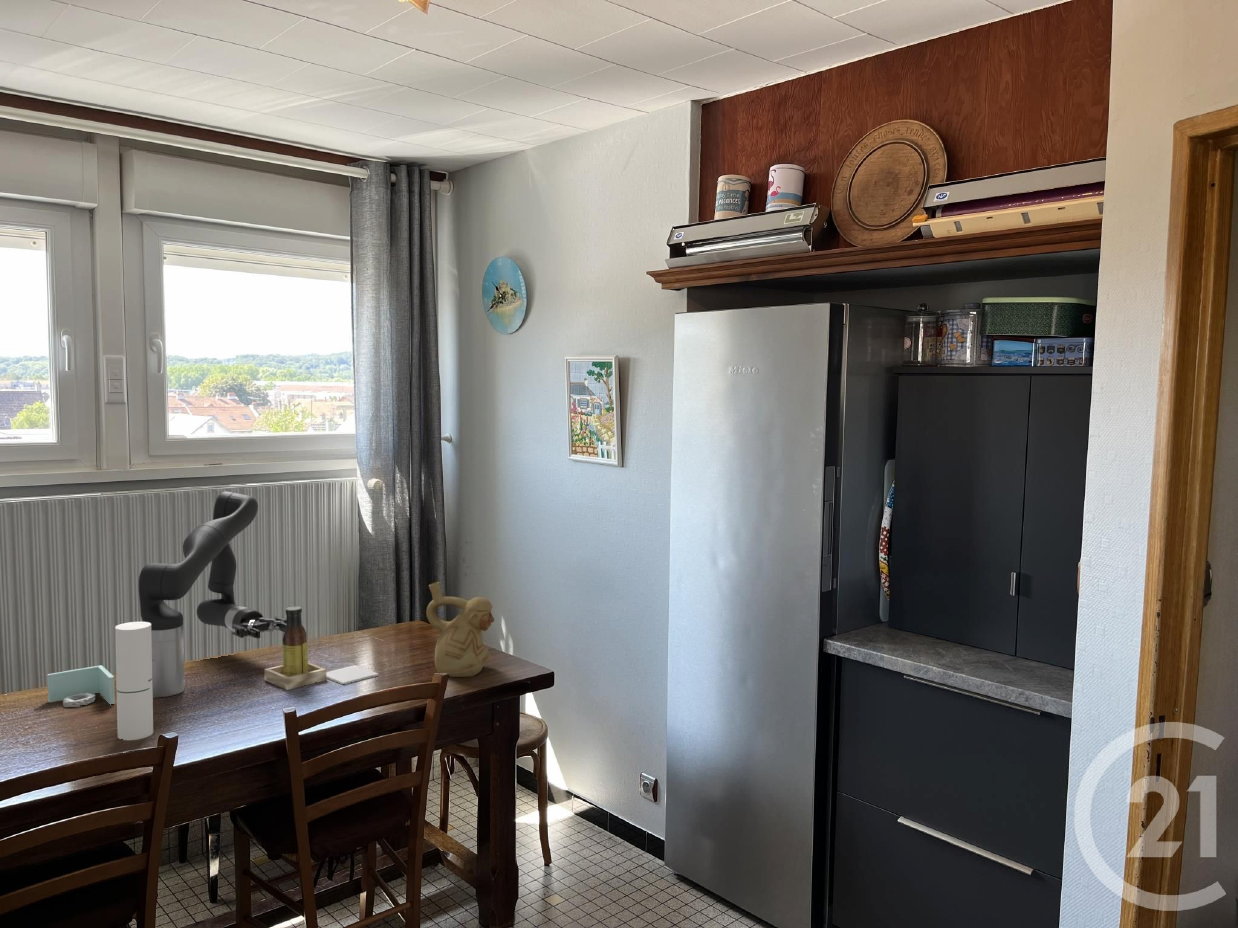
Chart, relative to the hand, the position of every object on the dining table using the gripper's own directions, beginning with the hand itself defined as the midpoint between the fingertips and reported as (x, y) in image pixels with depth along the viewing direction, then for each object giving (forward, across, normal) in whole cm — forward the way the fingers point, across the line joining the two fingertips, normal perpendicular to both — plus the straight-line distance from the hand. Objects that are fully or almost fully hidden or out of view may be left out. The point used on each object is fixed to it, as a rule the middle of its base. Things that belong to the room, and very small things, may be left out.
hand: (273, 631), depth 255 cm
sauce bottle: (+11, 0, +11) cm, 16 cm away
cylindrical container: (+20, -45, +11) cm, 51 cm away
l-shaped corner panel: (-10, -46, +12) cm, 48 cm away
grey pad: (+18, +12, +11) cm, 24 cm away
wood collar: (+11, 0, +11) cm, 16 cm away
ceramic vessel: (+36, +36, +11) cm, 52 cm away
